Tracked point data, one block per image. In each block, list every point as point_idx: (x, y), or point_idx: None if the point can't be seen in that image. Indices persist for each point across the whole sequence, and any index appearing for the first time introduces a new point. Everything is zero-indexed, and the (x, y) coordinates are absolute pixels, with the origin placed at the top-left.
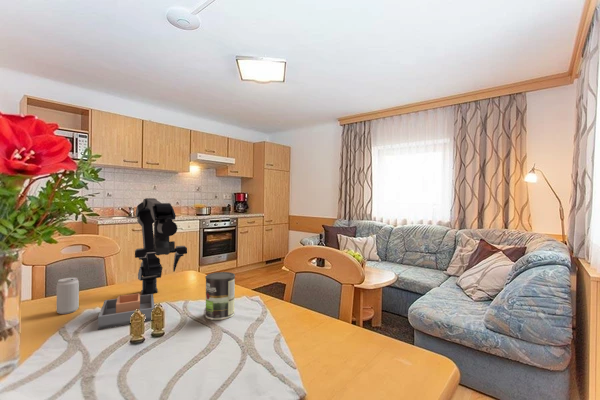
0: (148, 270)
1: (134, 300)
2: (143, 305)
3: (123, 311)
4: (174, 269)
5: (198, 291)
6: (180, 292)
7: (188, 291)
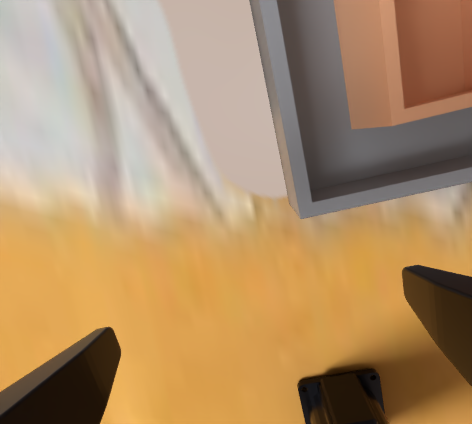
0: (448, 282)
1: (404, 107)
2: (334, 142)
3: None
4: (84, 342)
5: None
6: (178, 358)
7: (138, 364)
